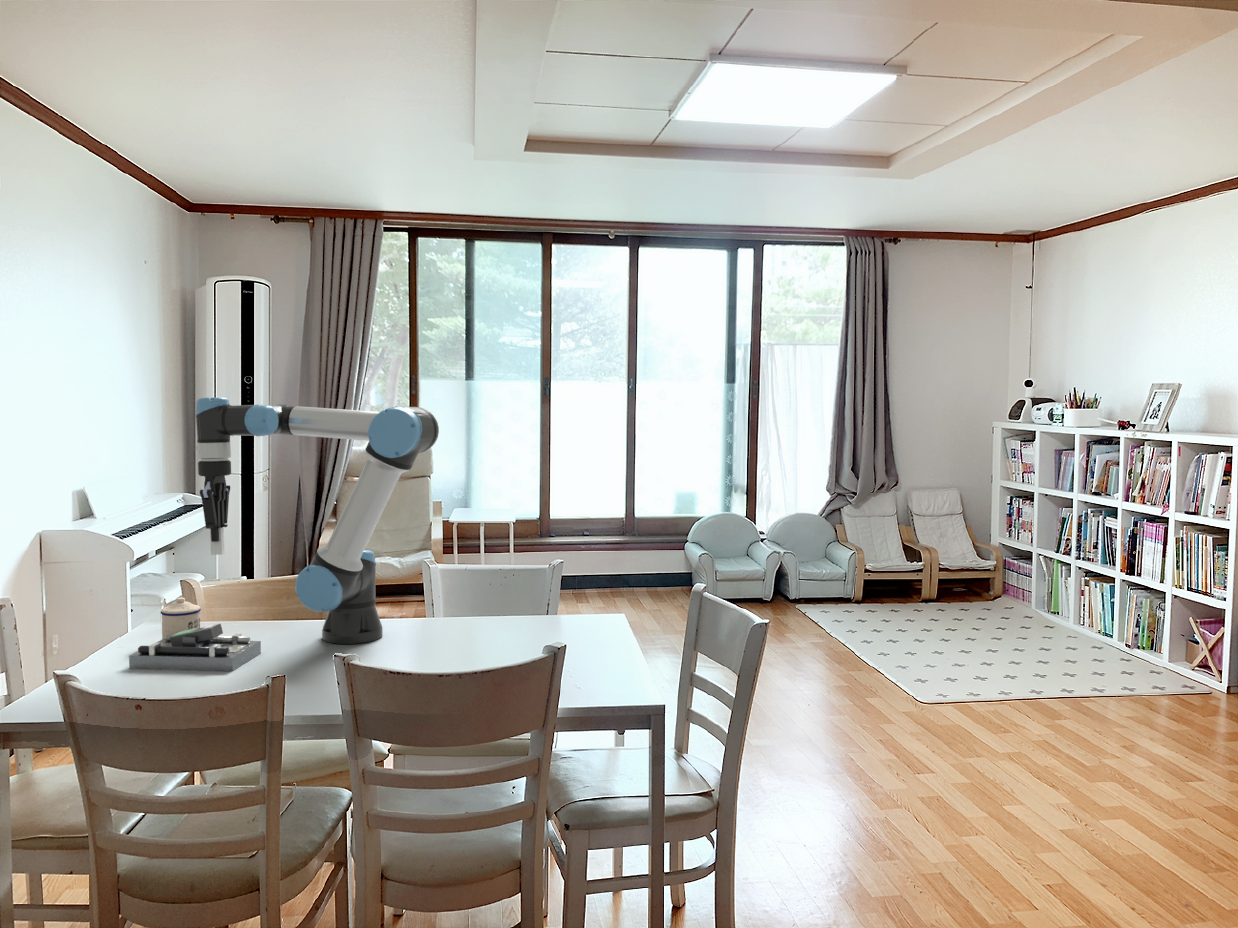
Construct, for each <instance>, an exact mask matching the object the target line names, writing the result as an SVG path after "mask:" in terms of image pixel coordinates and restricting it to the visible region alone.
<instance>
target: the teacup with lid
mask: <svg viewBox="0 0 1238 928" xmlns="http://www.w3.org/2000/svg"><path fill="white" fill-rule="evenodd" d="M201 610H202V609H201V606H199V605H198V604H193V603H191V602H190V601H186V598H185V597H177V598H176V600H175V602H173V603H171V604H169V605H168V606H165V607H162V609H161V610H160V614H161V635H162V637H161V640H162V639H164V638H165V636H166V635H174V634H177V633H179V632H181V631H185V630H190V629H194V628H201V613H200V612H201Z"/></svg>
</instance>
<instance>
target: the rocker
mask: <svg viewBox="0 0 1238 928" xmlns="http://www.w3.org/2000/svg"><path fill="white" fill-rule="evenodd" d="M222 634H224V631H223V628H222V624H221V623H217V624H216V623H215V624H211V625H207V626H204V627H200V628H194V629H190V630H185V631H181V632H179V633H177V634H174V635H172V636H171V637H170V641H171V644H172V646H182V645H183V639H182V637H184V636H191V637H197V642H200V641H205V640H209V639H213V638H215V637H217V636H222Z"/></svg>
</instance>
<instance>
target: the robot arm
mask: <svg viewBox="0 0 1238 928" xmlns="http://www.w3.org/2000/svg"><path fill="white" fill-rule="evenodd" d="M195 411H196V412H195V421H196V422H195V423H196V435H197V441H196V442H197V443H196V444H197V445H196V447H195V449H196V450H197V458H198V459H199V461H198V462H197V472H198V476H200V477H204V483H203V484H204V485H203V488H204V489H199V495H200V498H201V504H202V508H203V509H202V510H203V511H202V512H203V516H204V517H203V518H204V524H205V529H208V530H209V531H210V532H209V536H210V540H209V541H210V555H211V556H212V555H213V556H215V555H217V556H218V555H220V556H221V555H224V554H225V539H224V538H225V536H224V534H225V533H224V531H225V530H224V528H227V527H228V515H229V504H230V503H229V501H230V491H231V485H227V480H226V476H230V475H231V474H232V461H230V460H229V459H230V458H231V457H232V451H231V450H232V449H231V448H232V447H231V436H232V437H234V436H240V437H241V436H242V437H243V436H245V437H246V436H247V437H248V436H249V437H250V436H252V437H264V436H272V435H283V436H284V435H286V436H300V437H301V436H304V437H313V438H314V437H316V438H326V439H327V438H328V439H342V440H354V441H368V442H367V445H366V447H365V448H364V452H365V454H366V456H367V460H366V462H365V464H364V466H363V469H362V471H361V473H360V475H359V477H358V479H357V481H356V482H355V485H354V488H353V489H352V491H351V493H350V495H349V498H348V500H347V502H346V504H345V506H344V507H343V510H342V513H341V514H340V517H339V518H338V520H337V523H336V525H335V528H334V529H333V531H332V533H331V534H330V537H329V540H328V541H327V544H324V545H322V546H319V547H318V548H317V549H316V552H315V554H314V556H313V557H312V560H311V562H310V564H309V565H307V566H305V567H304V568H303V569H302V570H300V572H299V573H298V575H297V576H296V579H295V586H294V588H295V593H296V594H297V597H298V600H299V601H300V603H301V604H302V605H303V606H305V607H306V609H308V610H311V611H312V612H316V613H324V612H327V615H326V617H325V620H324V623H323V627H322V630H321V631H322V632H321V639H322V641H324V642H326V643H331V644H335V645H336V644H337V645H339V644H340V645H353V644H354V645H356V644H363V643H369V642H372V641H373V642H374V641H376V640H379V639H380V638H381V639H382V637H383V625H382V621H381V619H380V616H379V614H378V610H377V606H376V571H377V570H376V567H377V566H376V565H377V562H376V555H375V553H374V551H372V550H370V549H366V548H367V546H368V543H369V542H370V539H371V537H372V535H373V533H374V531H375V528H376V526H377V525H378V523H379V522H380V519H381V517H382V515H383V513H384V510H385V508H386V506H387V504H388V502H389V500H390V498H391V496H392V494H393V492H394V490H395V488H396V486H397V485H398V481H399V479H400V478H401V475H402V474H403V473H406V472H410V471H411V469H412V468H413V465H414V463H415V461H416V459H417V457H418V455H419V454H421V453H424V452H427V451H428V450H430V449H431V448H432V447H433V446H434V445H435V444H436V442H437V441H438V437H439V434H440V432H439V431H440V429H439V422H438V420H437V419H436V417H435V415H433V414H432V412H430V411H429V410H428V409H425V408H423V407H419V406H399V405H398V406H396V405H395V406H391V407H388V408H385V409H382V410H380V411H373V410H372V411H371V410H356V409H345V408H344V409H343V408H342V409H340V408H330V407H329V408H326V407H313V406H299V405H298V406H295V405H288V404H270V405H269V404H243V405H233V404H232V405H231V404H230V400H229V398H228V397H199V398H198V399H197V400H196V410H195Z"/></svg>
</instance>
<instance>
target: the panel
mask: <svg viewBox="0 0 1238 928" xmlns="http://www.w3.org/2000/svg"><path fill="white" fill-rule="evenodd" d="M171 636H172V635H166V636H165V638H164V639H162V638H161V639H160V640H159V641H156V642H153V643H152V644H150V645H140V646H139V647H137V651H135V652H133V653H131V654H129V655H128V662H129V664H128V665H129V666H128V668H129V669H132V670H133V669H134V670H135V669H141V670H179V671H182V670H183V671H184V670H185V671H213V672H214V671H216V672H217V671H218V672H219V671H223V672H224V671H225V672H234V671H236V670H237V669H239V668H240V667H242V666H244V665H245V664H247V663H248V662H249V661H250V660H253V659H254V658H256V657H257V656H259V655H260V654H261V653H262V652H261V651H262V649H261V645H262V644H261V640H251V637H250V636H242V633H235V634H233V635H231V636H222V635H219V636H217V637H215V638H213V639H209V640H205V641H200V642H197V637H191V636H184V637H182V639H183V645H182V646H172V644H171V641H170V637H171Z"/></svg>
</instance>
